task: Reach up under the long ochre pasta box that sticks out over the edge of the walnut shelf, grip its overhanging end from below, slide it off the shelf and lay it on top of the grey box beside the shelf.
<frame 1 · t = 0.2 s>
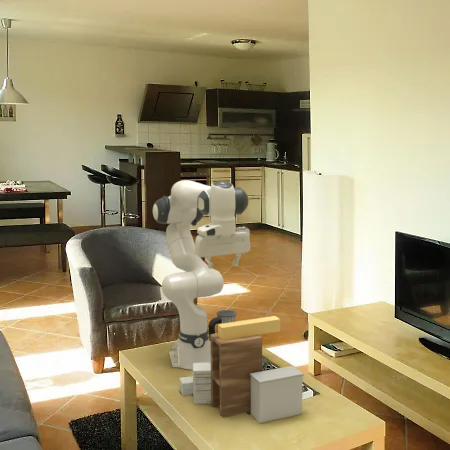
hand: (223, 266, 209), 48 cm above the table, tool pointing down, fingers open, 8 cm apart
ochre pasta box: (249, 333, 204), point 26 cm above the table, touching walnut shelf
small box: (188, 392, 219), on the table
white drawer cabinet: (203, 399, 213), on the table
grey box: (276, 413, 202), on the table
walnut shelf: (236, 406, 207), on the table
milk frother: (229, 348, 262), on the table
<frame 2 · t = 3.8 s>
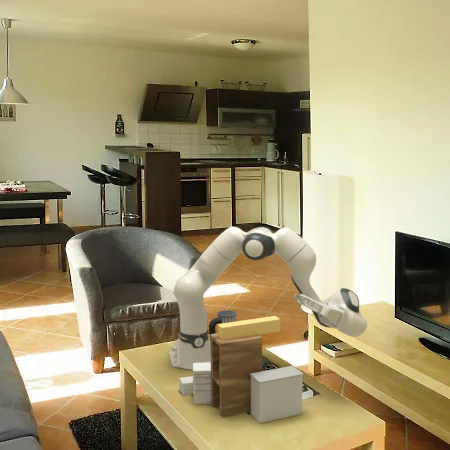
hand: (301, 299, 211), 36 cm above the table, tool pointing upward, fingers open, 8 cm apart
nothing on the table moved.
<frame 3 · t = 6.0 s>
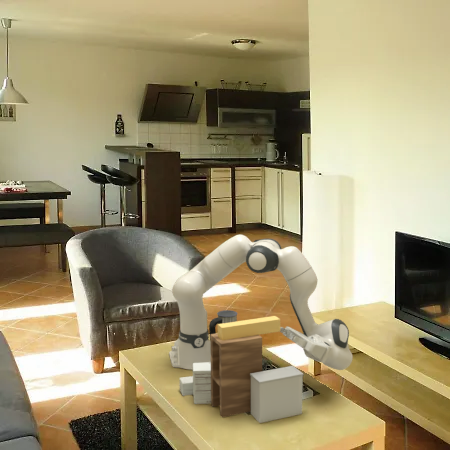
hand: (287, 333, 211), 24 cm above the table, tool pointing upward, fingers open, 8 cm apart
nothing on the table moved.
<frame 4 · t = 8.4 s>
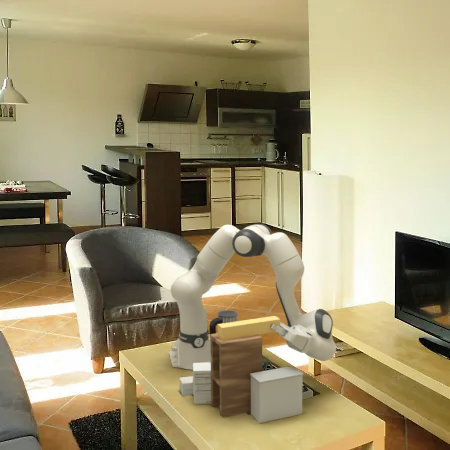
hand: (268, 323, 207), 29 cm above the table, tool pointing upward, fingers closed on ochre pasta box, 4 cm apart
ochre pasta box: (249, 333, 204), point 26 cm above the table, touching gripper, walnut shelf
everything else where it was.
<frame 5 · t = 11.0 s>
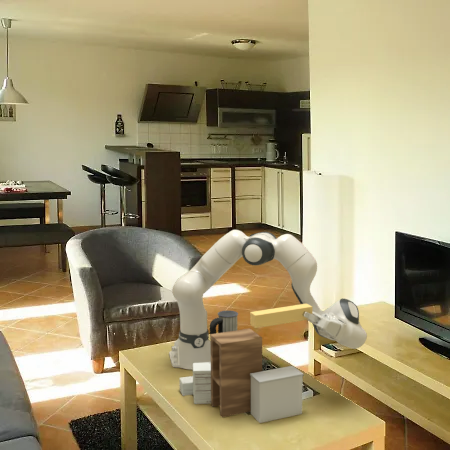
hand: (300, 311, 206), 33 cm above the table, tool pointing upward, fingers closed on ochre pasta box, 4 cm apart
ochre pasta box: (281, 321, 204), point 30 cm above the table, touching gripper
everything else where it was.
when the fingers open (19 cm above the table, at t = 14.1 s): ochre pasta box drops 2 cm, resting on grey box.
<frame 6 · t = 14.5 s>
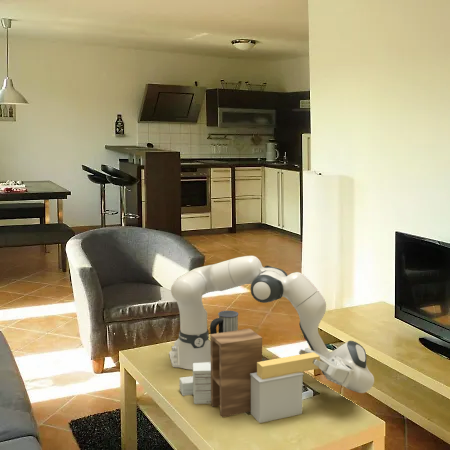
hand: (307, 356, 203), 19 cm above the table, tool pointing upward, fingers open, 8 cm apart
ochre pasta box: (288, 371, 201), point 14 cm above the table, touching grey box
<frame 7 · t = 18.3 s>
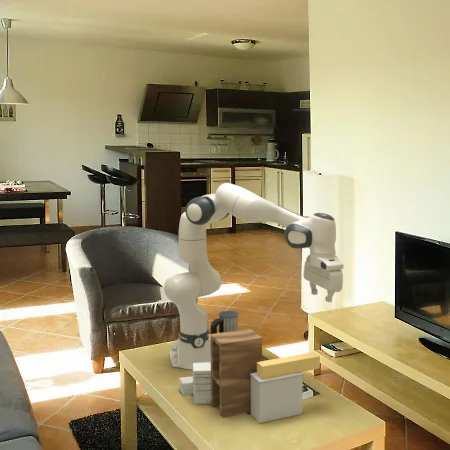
hand: (321, 297, 209), 37 cm above the table, tool pointing down, fingers open, 8 cm apart
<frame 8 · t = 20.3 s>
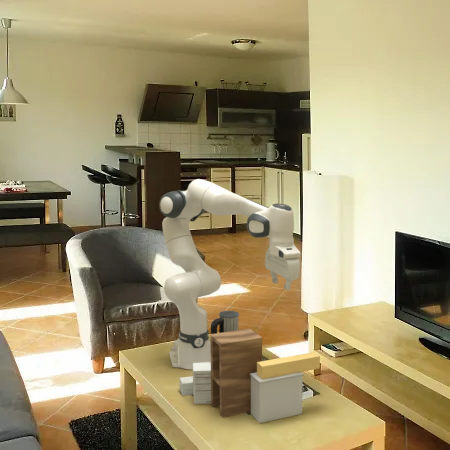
hand: (281, 286, 216), 39 cm above the table, tool pointing down, fingers open, 8 cm apart
at the end: ochre pasta box inside the target area (0.4 cm from its centre), point 14.5 cm above the table; ochre pasta box touching grey box; the gripper is holding nothing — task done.
